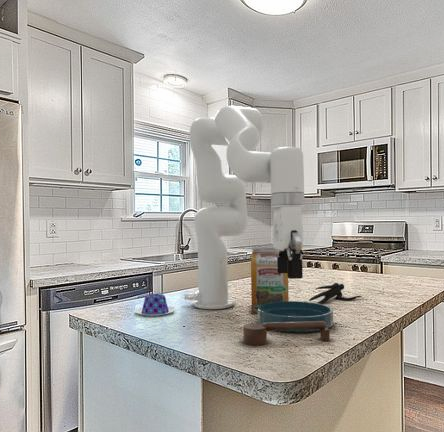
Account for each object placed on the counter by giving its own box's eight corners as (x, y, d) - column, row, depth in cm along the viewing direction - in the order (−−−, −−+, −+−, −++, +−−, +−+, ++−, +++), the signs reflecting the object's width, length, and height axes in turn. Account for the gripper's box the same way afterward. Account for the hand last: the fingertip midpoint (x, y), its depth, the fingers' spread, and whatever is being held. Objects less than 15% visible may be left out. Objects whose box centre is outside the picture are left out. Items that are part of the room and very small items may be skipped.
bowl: (265, 334, 99) (265, 318, 99) (253, 315, 118) (252, 301, 118) (344, 332, 99) (344, 316, 99) (319, 314, 119) (318, 300, 119)
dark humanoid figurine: (328, 287, 123) (359, 273, 142) (303, 293, 129) (336, 278, 148) (337, 314, 122) (367, 296, 141) (311, 319, 127) (343, 300, 146)
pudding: (152, 319, 115) (152, 300, 115) (126, 313, 124) (126, 295, 124) (183, 312, 124) (183, 294, 124) (157, 306, 132) (157, 290, 132)
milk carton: (288, 306, 130) (287, 246, 130) (288, 314, 119) (287, 248, 119) (255, 305, 132) (254, 246, 132) (251, 313, 121) (250, 248, 122)
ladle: (245, 345, 90) (244, 326, 90) (242, 339, 96) (241, 320, 96) (332, 343, 91) (332, 323, 91) (324, 336, 96) (324, 318, 96)
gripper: (264, 203, 104) (266, 271, 103) (280, 199, 86) (282, 281, 86) (293, 203, 104) (295, 270, 104) (315, 199, 87) (317, 280, 87)
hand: (289, 275), depth 95 cm, fingers open, 9 cm apart
